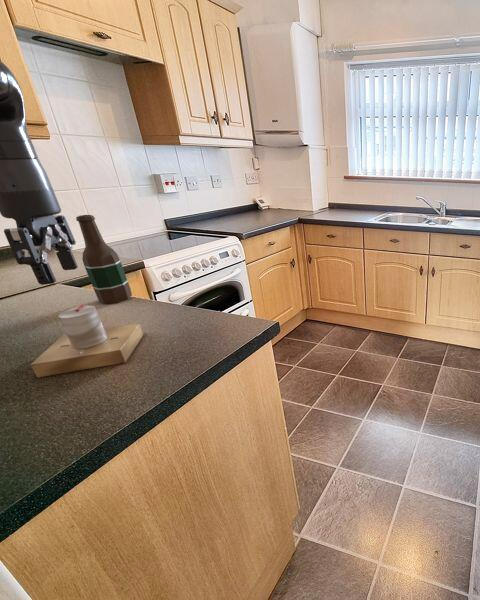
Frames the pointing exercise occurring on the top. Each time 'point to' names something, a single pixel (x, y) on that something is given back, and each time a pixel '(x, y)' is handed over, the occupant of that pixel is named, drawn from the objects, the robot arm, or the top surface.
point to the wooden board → (88, 352)
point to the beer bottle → (102, 264)
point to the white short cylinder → (83, 326)
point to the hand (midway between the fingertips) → (60, 276)
